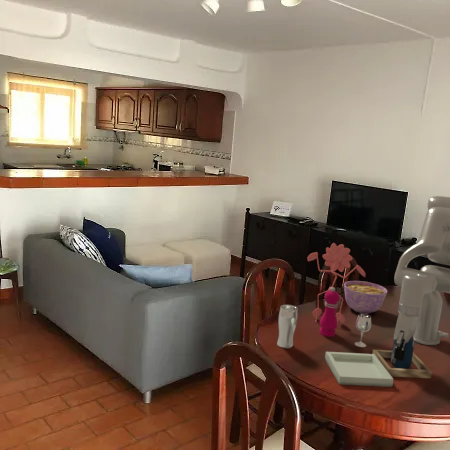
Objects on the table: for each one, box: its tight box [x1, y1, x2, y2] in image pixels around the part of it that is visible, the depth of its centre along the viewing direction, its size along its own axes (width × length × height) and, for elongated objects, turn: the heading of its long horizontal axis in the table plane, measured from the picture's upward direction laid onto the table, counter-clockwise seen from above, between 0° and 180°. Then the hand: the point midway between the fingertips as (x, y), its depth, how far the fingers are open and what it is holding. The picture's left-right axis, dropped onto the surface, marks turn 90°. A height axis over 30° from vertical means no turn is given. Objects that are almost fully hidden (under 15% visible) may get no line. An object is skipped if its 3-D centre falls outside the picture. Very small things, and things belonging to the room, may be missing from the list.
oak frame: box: [371, 349, 433, 379], centre depth 174 cm, size 15×15×2 cm
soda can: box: [390, 336, 416, 369], centre depth 173 cm, size 7×7×12 cm
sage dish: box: [324, 351, 394, 388], centre depth 167 cm, size 18×18×3 cm
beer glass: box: [276, 304, 299, 349], centre depth 183 cm, size 7×7×15 cm
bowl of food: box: [343, 280, 388, 315], centre depth 229 cm, size 20×20×12 cm
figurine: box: [306, 242, 366, 326], centre depth 211 cm, size 15×26×35 cm, turn 65°
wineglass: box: [354, 313, 372, 348], centre depth 189 cm, size 6×6×12 cm
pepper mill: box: [319, 286, 341, 338], centre depth 197 cm, size 7×7×20 cm
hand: (401, 355), depth 174 cm, fingers closed on soda can, 7 cm apart
